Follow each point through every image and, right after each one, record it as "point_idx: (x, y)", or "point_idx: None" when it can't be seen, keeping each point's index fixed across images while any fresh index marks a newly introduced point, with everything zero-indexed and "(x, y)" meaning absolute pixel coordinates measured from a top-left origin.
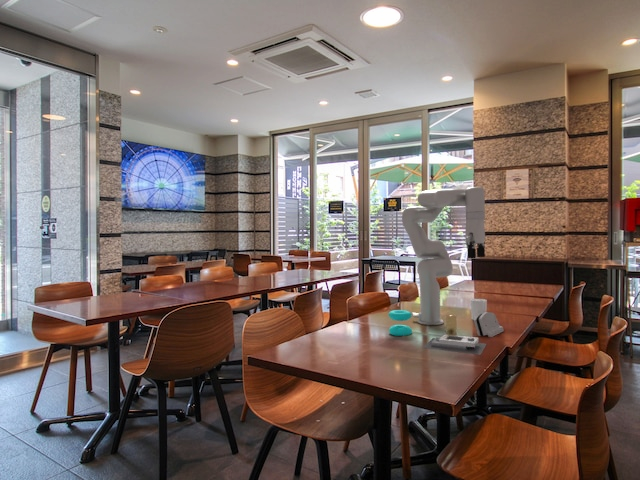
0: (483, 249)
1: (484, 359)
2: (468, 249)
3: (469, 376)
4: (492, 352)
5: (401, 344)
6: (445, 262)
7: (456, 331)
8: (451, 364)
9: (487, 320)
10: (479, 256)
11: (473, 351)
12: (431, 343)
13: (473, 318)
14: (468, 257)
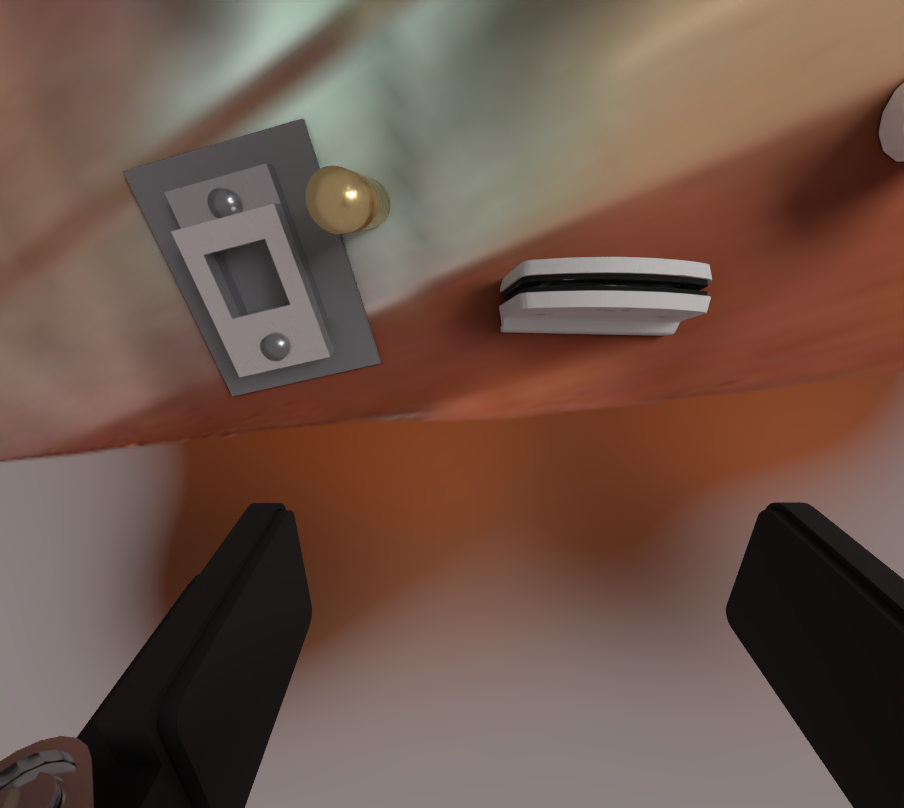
0: (847, 790)
1: (214, 415)
2: (130, 708)
3: (43, 438)
4: (306, 408)
5: (97, 25)
6: None
7: (366, 229)
8: (79, 357)
9: (581, 312)
10: (750, 551)
11: None
12: (168, 194)
13: (902, 89)
14: (253, 519)
